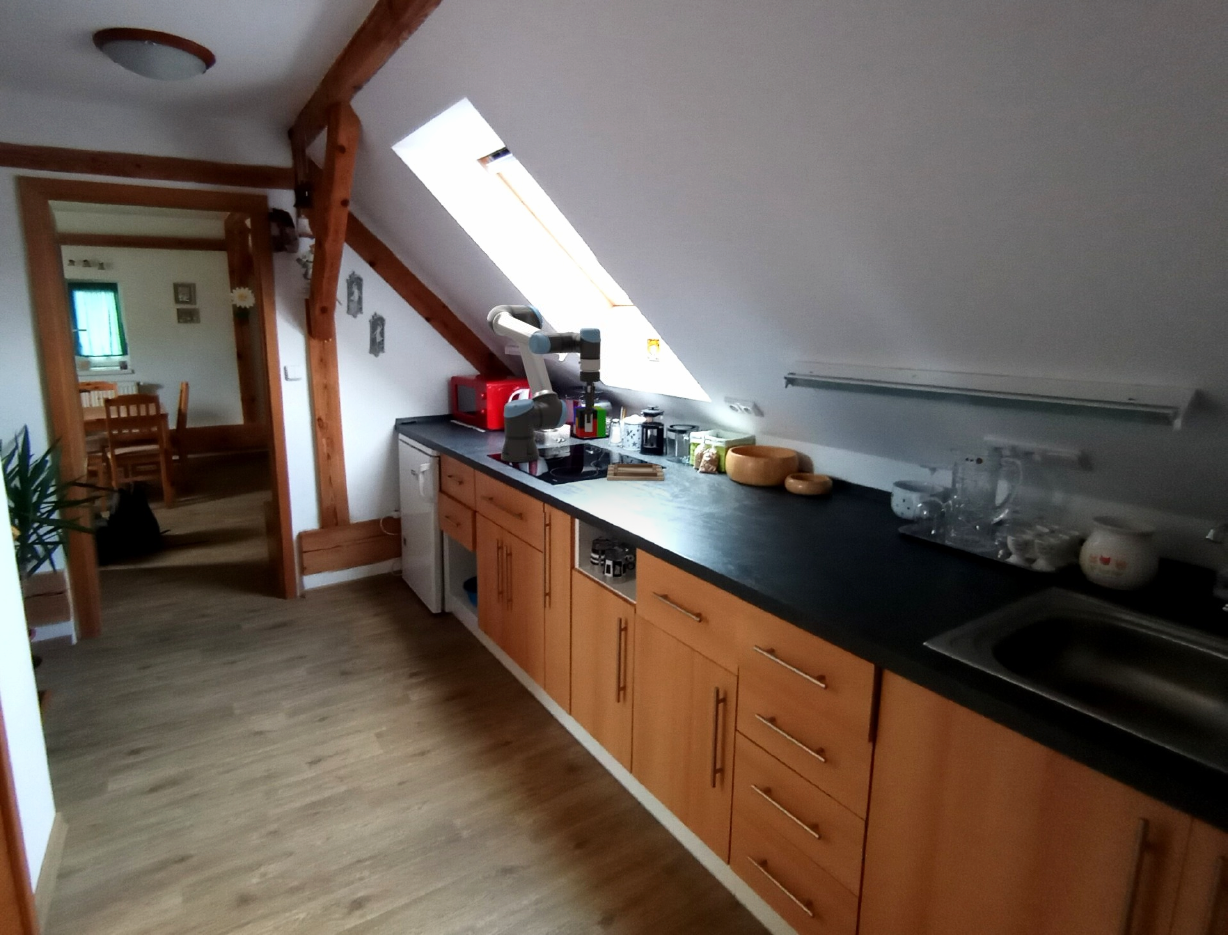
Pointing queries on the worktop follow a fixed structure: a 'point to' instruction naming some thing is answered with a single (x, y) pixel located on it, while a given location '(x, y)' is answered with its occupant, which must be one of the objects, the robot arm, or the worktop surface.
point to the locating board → (635, 472)
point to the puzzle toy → (597, 421)
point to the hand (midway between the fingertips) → (589, 428)
